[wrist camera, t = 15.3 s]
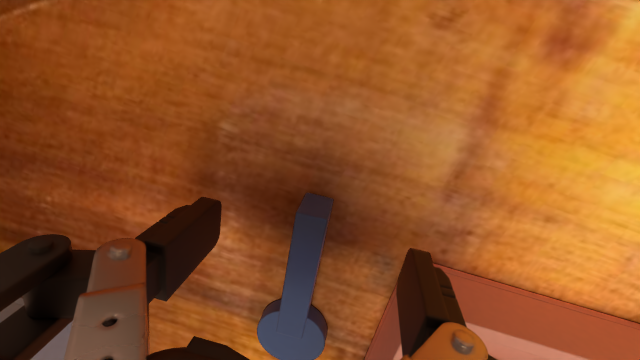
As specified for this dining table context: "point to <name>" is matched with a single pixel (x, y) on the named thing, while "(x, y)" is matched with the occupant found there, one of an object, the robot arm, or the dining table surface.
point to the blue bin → (54, 351)
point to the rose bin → (521, 325)
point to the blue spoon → (299, 289)
